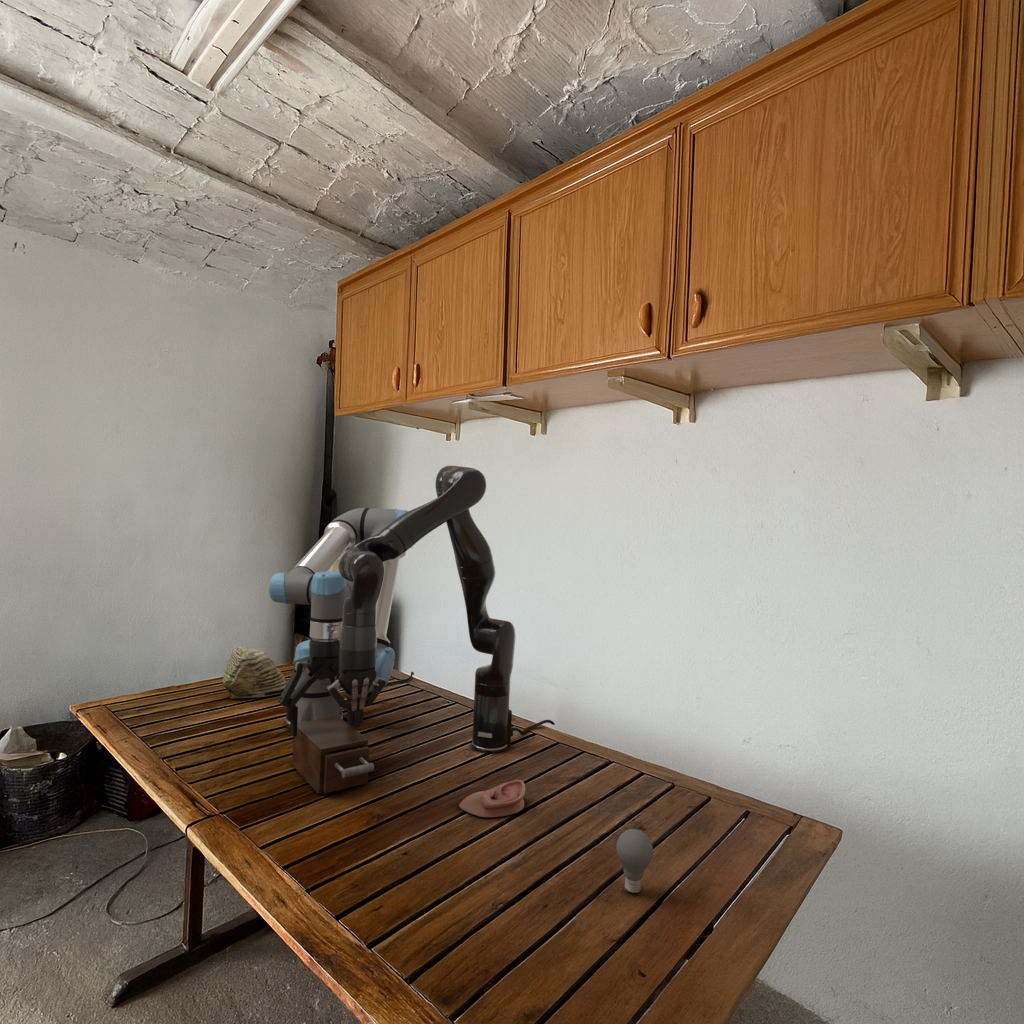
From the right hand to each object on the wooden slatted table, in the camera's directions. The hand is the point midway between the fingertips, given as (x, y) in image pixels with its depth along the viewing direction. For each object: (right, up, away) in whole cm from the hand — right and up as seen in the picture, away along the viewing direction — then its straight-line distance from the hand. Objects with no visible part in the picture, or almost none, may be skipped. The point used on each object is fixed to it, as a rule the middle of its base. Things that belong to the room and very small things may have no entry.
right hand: (355, 726), depth 133 cm
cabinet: (-9, -15, +12) cm, 21 cm away
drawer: (-5, -14, +7) cm, 16 cm away
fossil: (-48, -12, +65) cm, 81 cm away
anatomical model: (+29, -17, 0) cm, 33 cm away
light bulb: (+53, -18, -28) cm, 63 cm away
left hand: (-11, -6, +14) cm, 19 cm away
